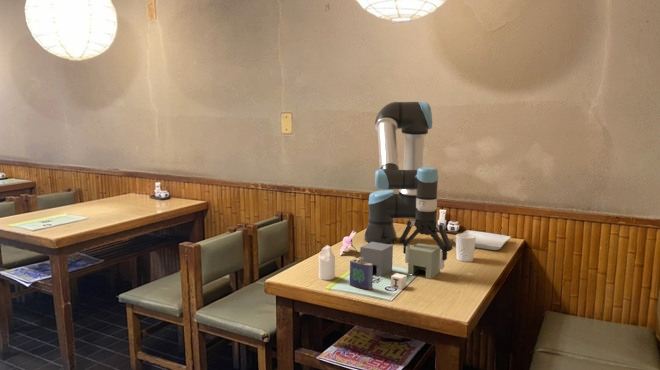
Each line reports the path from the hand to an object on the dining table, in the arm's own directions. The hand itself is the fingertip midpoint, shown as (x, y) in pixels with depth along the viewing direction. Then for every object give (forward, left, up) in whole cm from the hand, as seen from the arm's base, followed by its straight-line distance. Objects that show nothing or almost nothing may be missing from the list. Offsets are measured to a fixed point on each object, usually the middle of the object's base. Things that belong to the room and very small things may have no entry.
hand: (424, 265), depth 186 cm
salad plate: (+6, +54, -4) cm, 54 cm away
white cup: (+7, +26, -3) cm, 27 cm away
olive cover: (0, 0, -3) cm, 3 cm away
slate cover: (-16, -8, -3) cm, 18 cm away
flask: (-13, -26, -3) cm, 29 cm away
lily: (-38, +7, -3) cm, 39 cm away
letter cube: (-2, -18, -3) cm, 18 cm away
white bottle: (-28, -24, -3) cm, 37 cm away
